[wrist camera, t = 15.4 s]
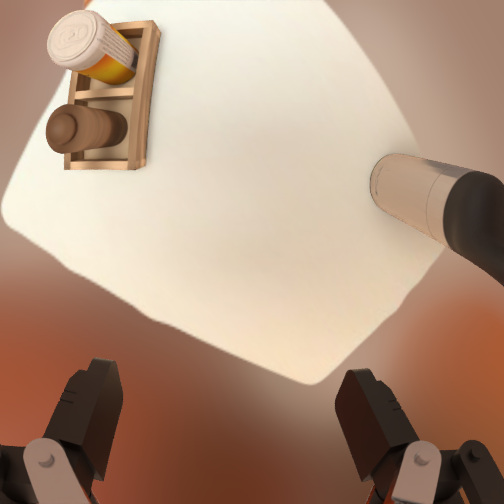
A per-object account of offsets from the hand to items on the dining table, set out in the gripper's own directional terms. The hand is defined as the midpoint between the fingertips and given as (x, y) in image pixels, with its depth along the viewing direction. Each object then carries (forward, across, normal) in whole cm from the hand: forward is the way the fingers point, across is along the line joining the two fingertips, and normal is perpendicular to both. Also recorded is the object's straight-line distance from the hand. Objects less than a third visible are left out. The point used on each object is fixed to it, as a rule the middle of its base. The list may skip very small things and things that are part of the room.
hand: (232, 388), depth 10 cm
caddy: (+33, +16, -13) cm, 39 cm away
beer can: (+32, +16, -18) cm, 40 cm away
